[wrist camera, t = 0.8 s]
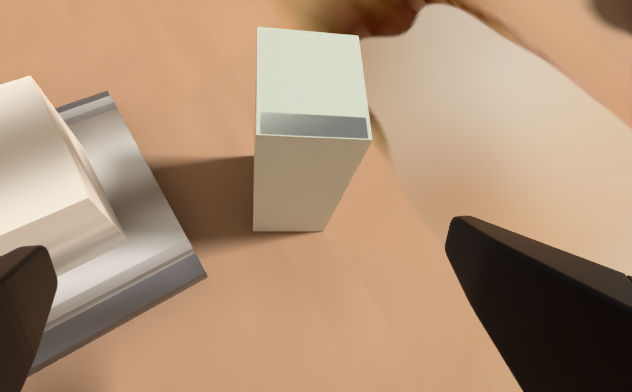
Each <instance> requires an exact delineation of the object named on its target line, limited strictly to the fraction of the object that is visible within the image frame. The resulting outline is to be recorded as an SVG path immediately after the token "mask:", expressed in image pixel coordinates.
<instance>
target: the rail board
mask: <svg viewBox="0 0 632 392" xmlns="http://www.w3.org/2000/svg"><path fill="white" fill-rule="evenodd" d="M33 245H43V246H44V247H46V248H47V250H48V252H49V254H50V257H51V260H52V263H53V266H54V269H55V272H56V275H57V280H58V286H57V291H56V294H55V297H54V300H53V304H52V307H51V310H50V313H49V317H48V320H47V323H46V326H45V330H44V333H43V336H42V339H41V343H40V346H39V349H38V352H37V355H36V357H35V360H34V362H33V365H32V367H31V369H30V372H29V374H28V376H27V377H29V376H30V375H32V374H34V373H36V372H38V371H39V370H41V369H43V368H45V367H47V366H48V365H50V364H52V363H54V362H56V361H57V360H59V359H61V358H63V357H65V356H66V355H68V354H70V353H72V352H74V351H75V350H77V349H79V348H81V347H83V346H84V345H86V344H88V343H90V342H92V341H93V340H95V339H97V338H99V337H101V336H102V335H104V334H106V333H108V332H110V331H111V330H113V329H115V328H117V327H119V326H120V325H122V324H124V323H126V322H128V321H129V320H131V319H133V318H135V317H137V316H138V315H140V314H142V313H144V312H146V311H147V310H149V309H151V308H153V307H155V306H156V305H158V304H160V303H162V302H164V301H165V300H167V299H169V298H171V297H173V296H174V295H176V294H178V293H180V292H182V291H183V290H185V289H187V288H189V287H191V286H192V285H194V284H196V283H198V282H200V281H201V280H203V279H205V278H207V274H206V272H205V270H204V268H203V267H202V265H201V263H200V261H199V259H198V257H197V256H196V254H195V252H194V249H193V247H192V245H191V244H190V242H189V240H188V239H187V237H186V235H185V233H184V231H183V229H182V227H181V226H180V224H179V222H178V220H177V218H176V216H175V215H174V213H173V211H172V209H171V207H170V205H169V203H168V202H167V200H166V198H165V196H164V194H163V192H162V190H161V189H160V187H159V185H158V183H157V181H156V179H155V178H154V176H153V174H152V172H151V170H150V168H149V166H148V165H147V163H146V161H145V159H144V157H143V155H142V154H141V152H140V150H139V148H138V146H137V144H136V142H135V141H134V139H133V137H132V135H131V133H130V131H129V129H128V128H127V126H126V124H125V122H124V120H123V118H122V117H121V115H120V113H119V111H118V109H117V107H116V105H115V103H114V101H113V99H112V98H111V96H110V95H109V93H108V91H105V92H102V93H99V94H96V95H94V96H91V97H88V98H85V99H82V100H79V101H76V102H73V103H70V104H67V105H64V106H61V107H58V108H54V107H53V105H52V104H51V103H50V101H49V100H48V99H47V97H46V96H45V95H44V93H43V92H42V90H41V89H40V88H39V86H38V85H37V84H36V82H35V81H34V80H33V78H32V77H31V76H27V77H24V78H21V79H18V80H14V81H11V82H8V83H4V84H1V85H0V256H2V255H4V254H6V253H8V252H10V251H12V250H14V249H16V248H18V247H22V246H33Z"/></svg>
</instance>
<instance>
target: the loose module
mask: <svg viewBox="0 0 632 392" xmlns="http://www.w3.org/2000/svg"><path fill="white" fill-rule="evenodd" d="M371 141H372V135H371V127H370V119H369V112H368V104H367V96H366V89H365V82H364V74H363V66H362V59H361V51H360V43H359V36H356V35H345V34H333V33H322V32H311V31H300V30H289V29H278V28H267V27H257V62H256V99H255V136H254V187H253V231H324V229H325V227H326V225H327V223H328V221H329V219H330V218H331V216H332V214H333V212H334V210H335V208H336V206H337V205H338V203H339V201H340V199H341V197H342V195H343V193H344V192H345V190H346V188H347V186H348V184H349V182H350V180H351V179H352V177H353V175H354V173H355V171H356V169H357V167H358V165H359V164H360V162H361V160H362V158H363V156H364V154H365V152H366V151H367V149H368V147H369V145H370V143H371Z"/></svg>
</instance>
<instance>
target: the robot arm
mask: <svg viewBox="0 0 632 392" xmlns="http://www.w3.org/2000/svg"><path fill="white" fill-rule="evenodd" d="M445 251H446V255H447V257H448V259H449V261H450V263H451V265H452V267H453V270H454V272H455V274H456V276H457V278H458V280H459V282H460V284H461V286H462V288H463V291H464V293H465V295H466V297H467V299H468V301H469V303H470V305H471V306H472V308H473V310H474V312H475V313H476V315H477V317H478V318H479V320H480V322H481V323H482V325H483V327H484V328H485V330H486V331H487V333H488V335H489V336H490V338H491V340H492V341H493V343H494V345H495V346H496V348H497V349H498V351H499V353H500V354H501V356H502V358H503V359H504V361H505V363H506V364H507V366H508V367H509V369H510V371H511V372H512V374H513V376H514V377H515V379H516V381H517V382H518V384H519V385H520V387H521V389H522V390H523V392H632V276H626V275H625V274H624V273H621V272H618V271H615V270H613V269H610V268H608V267H605V266H602V265H600V264H597V263H594V262H591V261H589V260H586V259H584V258H581V257H578V256H576V255H573V254H570V253H568V252H565V251H562V250H560V249H557V248H554V247H552V246H549V245H546V244H544V243H541V242H538V241H536V240H533V239H530V238H528V237H525V236H523V235H520V234H517V233H514V232H512V231H509V230H507V229H504V228H501V227H499V226H496V225H493V224H490V223H488V222H485V221H483V220H480V219H477V218H475V217H471V216H457V217H454V218H453V219H452V220H451V222H450V226H449V230H448V235H447V239H446V243H445ZM57 286H58V280H57V275H56V272H55V269H54V266H53V263H52V260H51V257H50V254H49V252H48V250H47V248H46V247H44V246H43V245H33V246H22V247H18V248H16V249H14V250H12V251H10V252H8V253H6V254H4V255H2V256H0V392H21V390H22V388H23V385H24V383H25V381H26V378H27V376H28V374H29V372H30V369H31V367H32V365H33V362H34V360H35V357H36V355H37V352H38V349H39V346H40V343H41V339H42V336H43V333H44V330H45V326H46V323H47V320H48V317H49V313H50V310H51V307H52V304H53V300H54V297H55V294H56V291H57Z"/></svg>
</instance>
